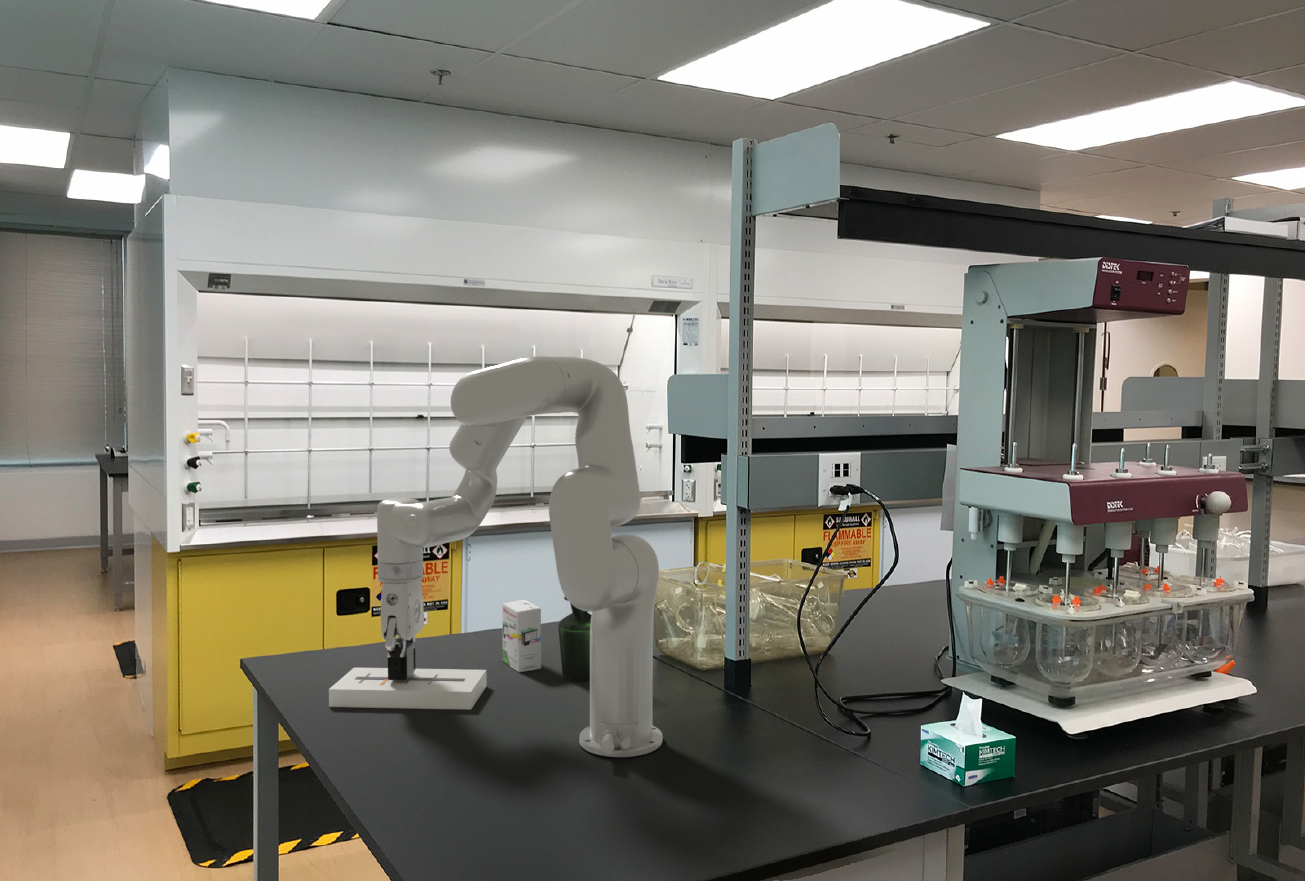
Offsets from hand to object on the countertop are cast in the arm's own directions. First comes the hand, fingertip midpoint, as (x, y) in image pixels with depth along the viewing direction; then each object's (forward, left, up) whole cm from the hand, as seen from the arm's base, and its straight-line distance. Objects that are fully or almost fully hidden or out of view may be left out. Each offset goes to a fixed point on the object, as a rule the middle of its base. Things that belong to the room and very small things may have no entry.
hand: (401, 673), depth 165 cm
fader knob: (0, 0, 0) cm, 1 cm away
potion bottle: (+13, -29, -4) cm, 32 cm away
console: (0, -1, -4) cm, 4 cm away
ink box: (+19, -17, -4) cm, 26 cm away
